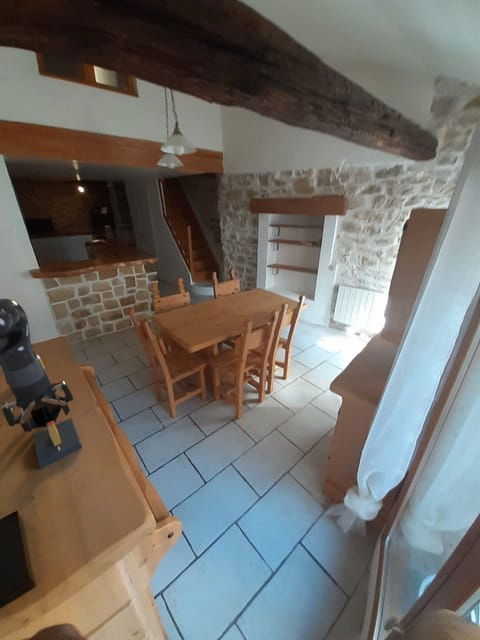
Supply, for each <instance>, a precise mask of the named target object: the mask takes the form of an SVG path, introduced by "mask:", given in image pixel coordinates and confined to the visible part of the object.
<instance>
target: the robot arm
mask: <svg viewBox="0 0 480 640" xmlns="http://www.w3.org/2000/svg"><path fill="white" fill-rule="evenodd" d="M37 355H38V354H37V353H36V351H35V349H34V347H33V345H32V342H31V332H30V325H29V319H28V316H27V313H26V312H25V310H24V308H23V307H22V306H21V304H19V303H18V302H16V300H15V301H14V300H13V299H9V298H0V369H1V371H2V375H3V378H4V380H5V383H6V384H7V386H8V387H9V389H10V391H11V392H12V395H13V396H14V398H15V401H12V402H3V403H2V404H1V410H2V413H3V416H4V418H5V420H6V422H7V424H8V426H9V427H14V426H15V425H20V426H21V428H22V430H23V432H25V433H27V432H28V433H31V432H33V428H32V427H31V425H30V423H29V421H30V420H28V417H29V416H31V414H30V413H31V411H32V410H34V411H35V410H38V409H39V408H41V407H44V406H47V405H48V404H49V403H51V404H55V405H57V404H58V405H61V406H62V409H61V410H62V411H63V414H64V415H65V416H69V413H70V412H71V409H70V407H69V405H68V403H69V402H72V401H73V400H74V397H73V394H72V392H71V390H70V388H69V386H68V384H67V382H66V381H65V380H61V381H59V382H60V384H58V385H56V386H52V385H51V383H52V382H51V381H50V378H49V377H48V375H47V372H46V368H45V367H44V368H45V369H44V368H43V365H44V364H43V365H42V363H43V362H42V363H41V362H40V360H39V359H38V357H37ZM56 391H59V392H61V393H64V395H65V396H62V395H61V396H60V395H58V394H57V392H56ZM16 407H17V408H21V410H20V413H19V415H18V416H15V415H14V413H13V412H14V411H15V409H16Z"/></svg>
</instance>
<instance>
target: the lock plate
mask: <svg viewBox="0 0 480 640" xmlns="http://www.w3.org/2000/svg"><path fill="white" fill-rule="evenodd" d="M55 426H56V428H57V430H58V433H59V437H60V440H61V444H59V445H57V446H54V444H53V442H52V440H51V438H50V435H49V431H48V428H46V429H44V430H41V431H39V432H37V433H35V434H33V435H32V437H33V441H34V447H35V453H36V459H37V463H38V466H39V468H40V469H41V470H43V469H45V468H46V467H48V466H50V465H52V464H54V463H55V462H57V461H60V460H61V459H64V458H65V457H67V456H69V455H71V454H72V453H74V452H76V451H78V450H80V449H82V448H83V445H82V442H81V439H80V436H79V434H78V431H77V428H76V425H75V423H74V421H73V418H72V417H70V418H68V419H65V420H63V421H60V422H59V423H57V424H55Z"/></svg>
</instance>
